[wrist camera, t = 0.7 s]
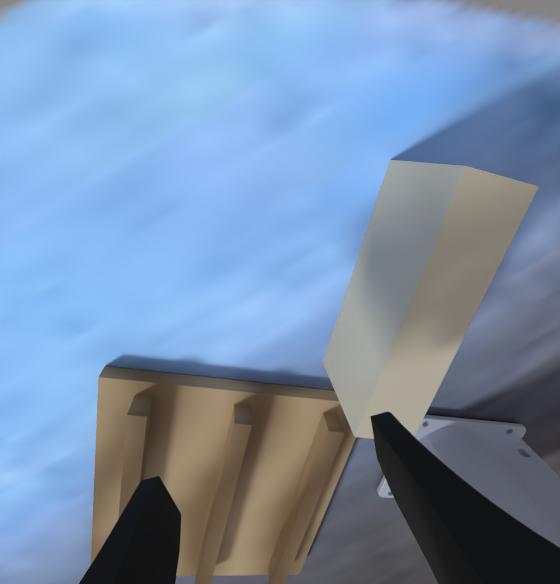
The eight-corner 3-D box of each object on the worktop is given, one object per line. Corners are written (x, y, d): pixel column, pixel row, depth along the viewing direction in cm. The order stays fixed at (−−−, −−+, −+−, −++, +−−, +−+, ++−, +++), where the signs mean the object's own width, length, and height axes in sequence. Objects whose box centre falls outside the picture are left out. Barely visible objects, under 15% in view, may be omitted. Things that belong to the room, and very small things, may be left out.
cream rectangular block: (441, 173, 17) (539, 186, 12) (366, 366, 21) (412, 441, 16) (388, 159, 16) (466, 166, 11) (322, 361, 21) (354, 437, 15)
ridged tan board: (364, 394, 22) (379, 422, 20) (297, 560, 29) (302, 596, 26) (105, 366, 19) (87, 396, 17) (95, 561, 25) (82, 602, 23)
